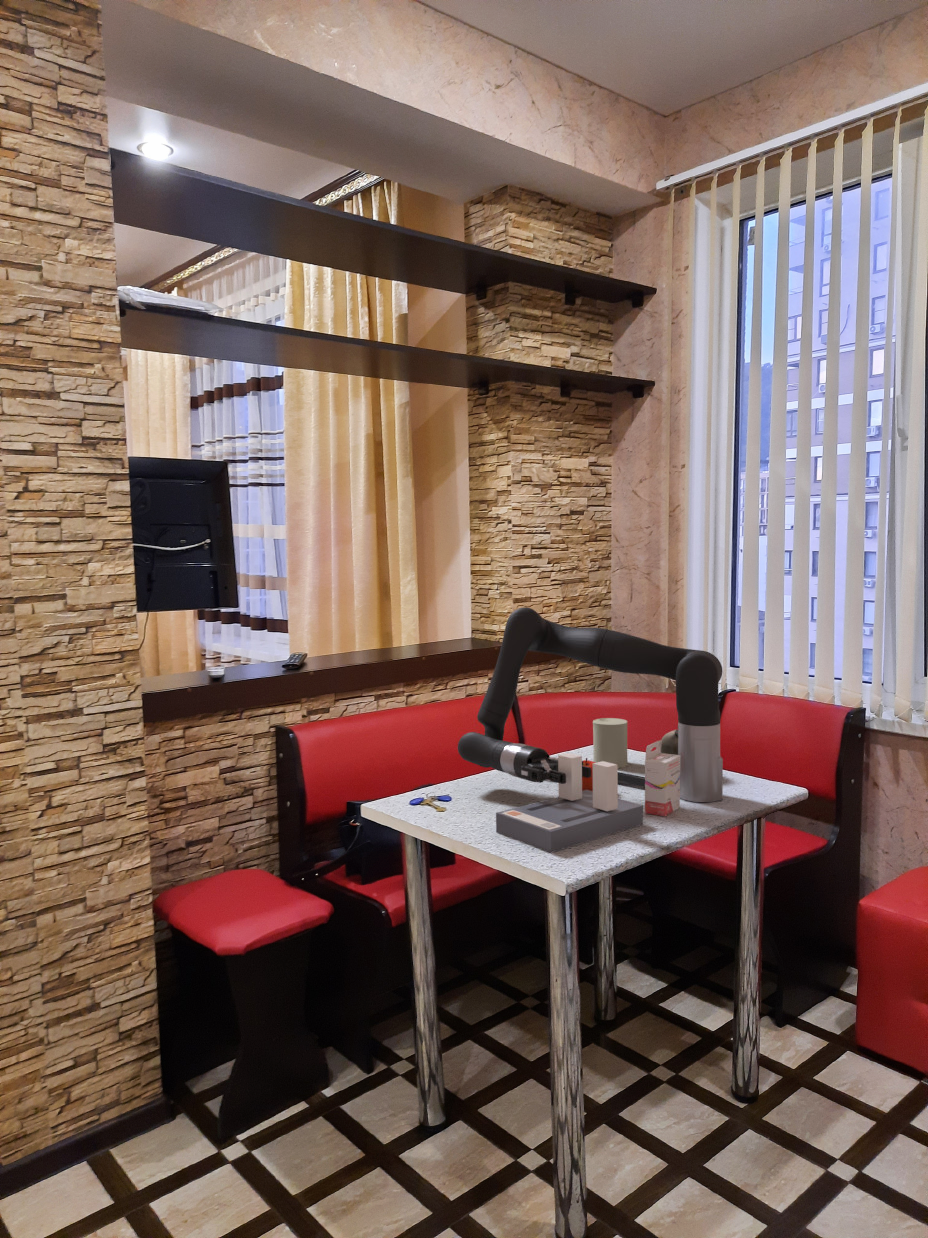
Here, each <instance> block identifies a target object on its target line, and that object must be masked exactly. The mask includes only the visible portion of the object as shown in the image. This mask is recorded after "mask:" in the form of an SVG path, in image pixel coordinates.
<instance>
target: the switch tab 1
mask: <svg viewBox="0 0 928 1238" xmlns="http://www.w3.org/2000/svg"><path fill="white" fill-rule="evenodd" d="M557 758H558V771H559V772H563V773H565V774H566V783H565V784H560V783H557V784H558V797H561V798H564V799H568V800H571V801H573V800H577V799H581V798H582V761H583V757H582V755H579V754H574V753H569V752H566V753H561V754H558V756H557Z"/></svg>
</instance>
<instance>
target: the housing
mask: <svg viewBox="0 0 928 1238" xmlns="http://www.w3.org/2000/svg"><path fill="white" fill-rule="evenodd" d="M643 825H644V805H643V804H640V803H635V802H631V801H630V800H625V799H621V798H618V809H614V810H611V811H604V810H601V809H598V808H594V807H593V791H590V790H584V791H582V798H581V799H577V800H573V801H571V800H568V799H564V798H561V797H559V796H557V797H553V798H548V799H544V800H541V801H536V802H533V803H528V804H526V805H525V804H524V805H522V806H517V807H513V808H509V809H506V810H502V811H498V812H495V826H496V827H495V829H496V830H495V831H496V833H498V834H501V835H503V836H506V837H508V838H511V839H514V840H516V841H519V842H521V843H525V844H527V845H529V846H532V847H535V848H536V849H541V850H542V851H546V852H547V853H554V852H558V851H561V850H564V849H568V848H571V847H575V846H577V845H580V844H584V843H588V842H590V841H594V840H596V839H601V838H603V837H607V836H610V835H613V834H617V833H620V832H623V831H626V830H630V829H632V828H635V827H639V826H643Z"/></svg>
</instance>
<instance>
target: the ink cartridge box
mask: <svg viewBox="0 0 928 1238" xmlns="http://www.w3.org/2000/svg"><path fill="white" fill-rule="evenodd" d="M661 744H662V740H661V739H660V740H656V741H655V742H652V743H651V744H648V745H647V746H646V749H645V758H644V759H645V760H644V777H645V790H644V813H645V814H650V815H654V816H660V817H667V816H668V815H669V814H671V813H673V812H676V811H677V810H678V809H680V807H681V805H680V804H681V800H680V799H681V798H680V757H681V756H680V755H673V754H664V753H661ZM654 748H655V749H654ZM653 749H654V750H653Z"/></svg>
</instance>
